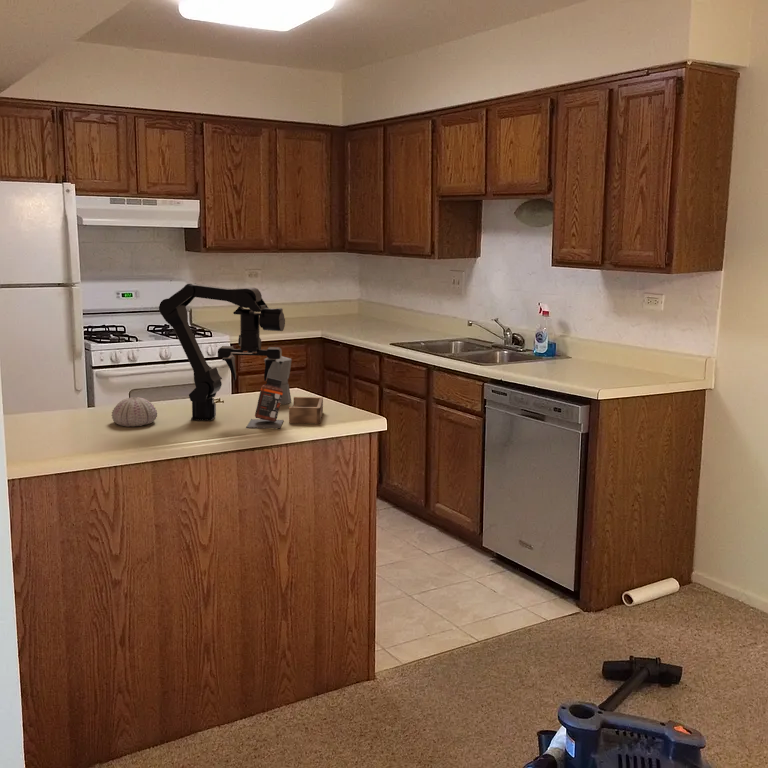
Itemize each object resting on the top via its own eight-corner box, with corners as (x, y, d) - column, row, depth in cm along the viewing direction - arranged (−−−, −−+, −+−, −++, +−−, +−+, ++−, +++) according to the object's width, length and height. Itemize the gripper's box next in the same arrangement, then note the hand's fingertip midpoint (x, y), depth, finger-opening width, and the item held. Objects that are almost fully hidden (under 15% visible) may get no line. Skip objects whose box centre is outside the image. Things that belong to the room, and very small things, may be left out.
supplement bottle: (277, 423, 252) (287, 381, 253) (256, 418, 250) (265, 376, 251) (273, 421, 259) (283, 381, 259) (252, 416, 257) (262, 376, 257)
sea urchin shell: (113, 430, 243) (112, 403, 242) (110, 419, 255) (109, 394, 254) (160, 427, 248) (159, 400, 247) (154, 417, 260) (154, 392, 259)
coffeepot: (294, 405, 282) (295, 353, 278) (266, 406, 279) (266, 353, 276) (287, 396, 296) (288, 346, 293) (261, 397, 294) (261, 346, 291)
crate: (289, 423, 257) (289, 407, 256) (293, 411, 273) (293, 396, 272) (319, 423, 257) (320, 408, 256) (322, 412, 273) (323, 397, 272)
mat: (246, 428, 249) (246, 426, 249) (251, 420, 259) (251, 419, 259) (279, 428, 250) (279, 427, 250) (283, 421, 260) (283, 419, 259)
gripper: (283, 327, 260) (283, 376, 263) (223, 325, 260) (224, 375, 263) (279, 331, 249) (279, 383, 252) (217, 330, 249) (217, 381, 252)
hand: (250, 380), depth 255 cm, fingers open, 9 cm apart
